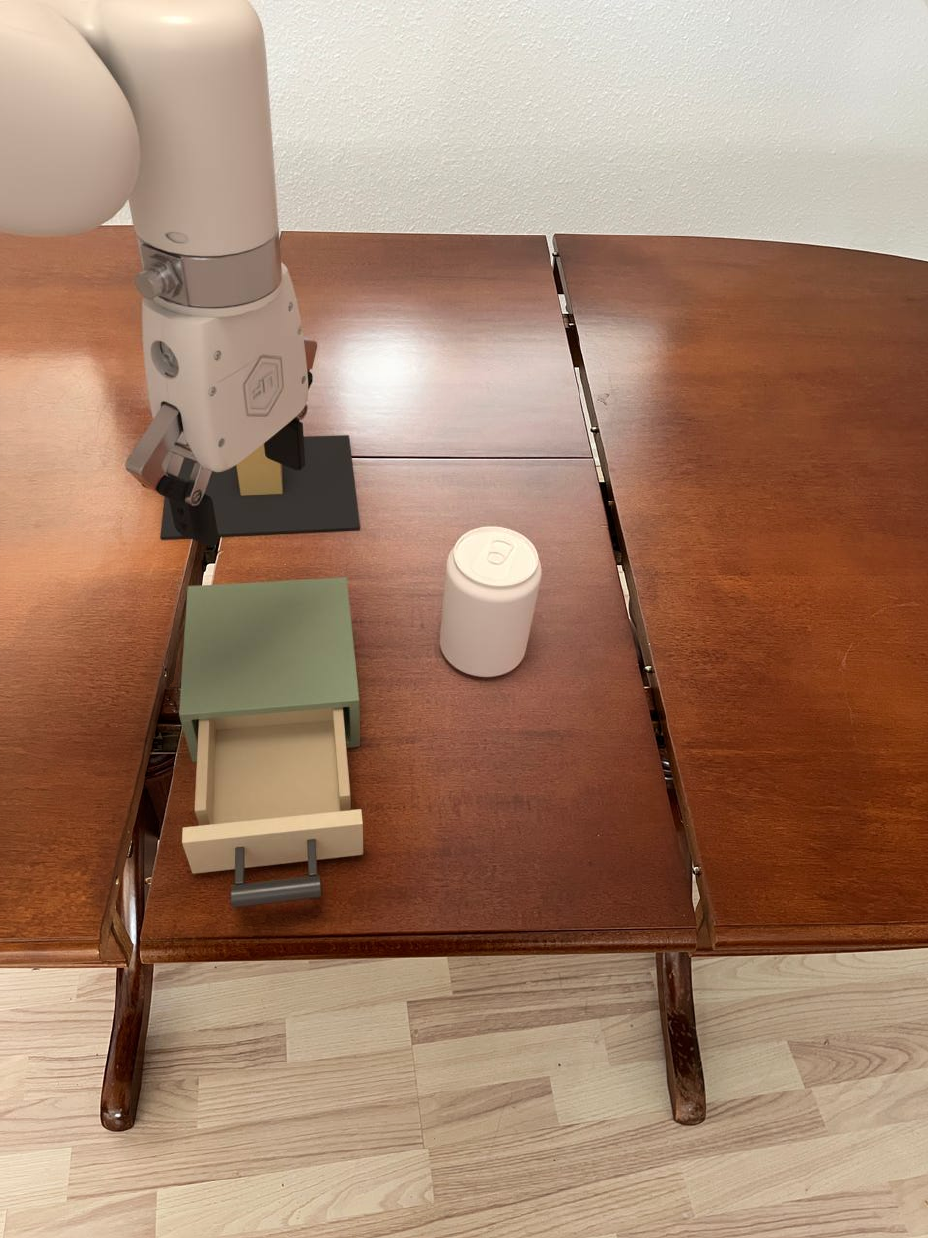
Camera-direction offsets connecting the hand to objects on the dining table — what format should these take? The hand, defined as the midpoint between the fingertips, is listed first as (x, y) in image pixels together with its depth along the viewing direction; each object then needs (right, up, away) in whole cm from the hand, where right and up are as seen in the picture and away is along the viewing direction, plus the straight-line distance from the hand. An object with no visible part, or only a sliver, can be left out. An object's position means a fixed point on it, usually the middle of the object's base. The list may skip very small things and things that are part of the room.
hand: (243, 498), depth 60 cm
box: (-6, +6, +33) cm, 34 cm away
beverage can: (+17, -11, +20) cm, 29 cm away
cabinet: (-1, -15, +15) cm, 21 cm away
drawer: (+1, -24, +6) cm, 24 cm away
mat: (-7, +6, +33) cm, 34 cm away
